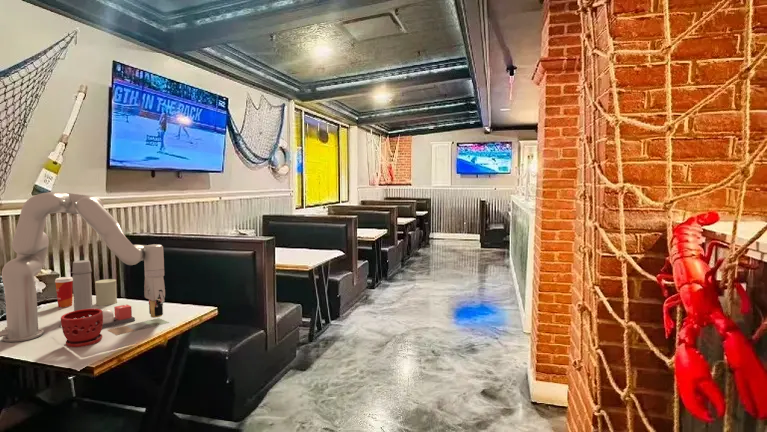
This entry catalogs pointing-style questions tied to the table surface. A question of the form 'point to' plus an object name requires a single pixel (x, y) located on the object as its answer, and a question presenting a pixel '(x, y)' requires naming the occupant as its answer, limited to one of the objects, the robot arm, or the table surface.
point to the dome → (107, 316)
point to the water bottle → (82, 285)
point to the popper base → (116, 322)
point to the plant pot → (82, 327)
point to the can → (106, 292)
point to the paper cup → (64, 291)
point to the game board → (137, 326)
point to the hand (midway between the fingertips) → (156, 314)
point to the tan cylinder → (153, 309)
